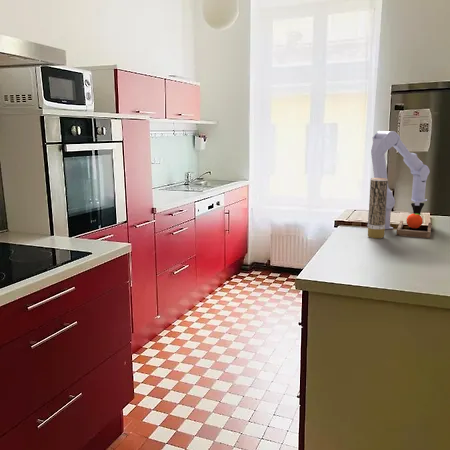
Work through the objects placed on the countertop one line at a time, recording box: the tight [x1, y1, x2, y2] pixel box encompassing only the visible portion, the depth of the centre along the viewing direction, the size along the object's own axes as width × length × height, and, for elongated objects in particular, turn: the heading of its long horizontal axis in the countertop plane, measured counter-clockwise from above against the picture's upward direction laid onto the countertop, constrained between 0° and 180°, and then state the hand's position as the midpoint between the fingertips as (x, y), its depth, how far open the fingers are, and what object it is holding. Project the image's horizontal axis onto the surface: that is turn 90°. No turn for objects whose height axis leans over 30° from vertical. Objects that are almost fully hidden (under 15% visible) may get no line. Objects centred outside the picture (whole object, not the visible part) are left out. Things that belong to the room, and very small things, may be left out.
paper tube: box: [367, 177, 389, 240], centre depth 199 cm, size 7×7×25 cm
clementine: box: [406, 213, 425, 229], centre depth 217 cm, size 8×7×7 cm
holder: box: [395, 220, 432, 239], centre depth 211 cm, size 21×13×2 cm, turn 156°
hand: (416, 218), depth 225 cm, fingers closed
